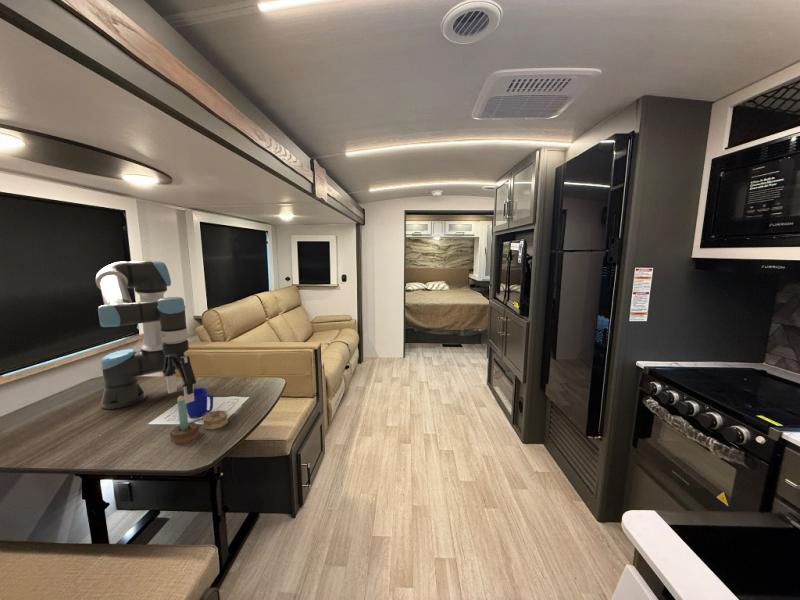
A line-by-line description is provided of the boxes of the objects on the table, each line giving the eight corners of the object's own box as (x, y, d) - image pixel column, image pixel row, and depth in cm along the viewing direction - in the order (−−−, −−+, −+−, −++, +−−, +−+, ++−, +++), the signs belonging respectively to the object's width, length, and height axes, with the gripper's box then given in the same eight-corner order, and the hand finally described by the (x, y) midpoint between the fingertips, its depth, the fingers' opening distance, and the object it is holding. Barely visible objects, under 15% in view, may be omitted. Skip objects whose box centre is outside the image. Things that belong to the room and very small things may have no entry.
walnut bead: (168, 438, 114) (167, 430, 114) (191, 428, 121) (191, 420, 120) (178, 446, 110) (177, 436, 110) (202, 435, 117) (201, 426, 116)
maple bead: (199, 428, 121) (198, 419, 121) (214, 417, 129) (213, 409, 129) (217, 430, 120) (216, 421, 120) (231, 419, 128) (231, 411, 127)
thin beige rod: (174, 429, 120) (174, 428, 120) (173, 429, 121) (173, 427, 120) (213, 414, 132) (213, 412, 132) (212, 413, 133) (212, 411, 132)
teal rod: (180, 437, 115) (175, 396, 113) (187, 434, 117) (183, 393, 115) (183, 439, 114) (178, 398, 111) (190, 436, 116) (186, 395, 113)
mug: (206, 421, 126) (203, 398, 125) (181, 418, 129) (178, 395, 127) (221, 411, 134) (219, 389, 133) (197, 408, 137) (195, 387, 135)
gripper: (148, 337, 114) (154, 391, 117) (179, 350, 100) (185, 410, 104) (171, 333, 120) (176, 384, 123) (204, 344, 107) (209, 402, 110)
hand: (180, 396), depth 113 cm, fingers open, 13 cm apart
